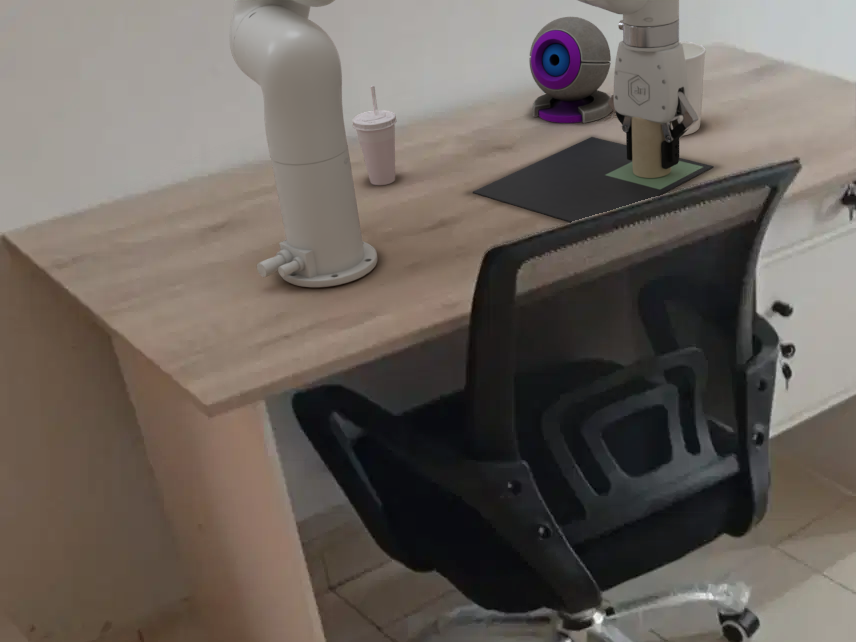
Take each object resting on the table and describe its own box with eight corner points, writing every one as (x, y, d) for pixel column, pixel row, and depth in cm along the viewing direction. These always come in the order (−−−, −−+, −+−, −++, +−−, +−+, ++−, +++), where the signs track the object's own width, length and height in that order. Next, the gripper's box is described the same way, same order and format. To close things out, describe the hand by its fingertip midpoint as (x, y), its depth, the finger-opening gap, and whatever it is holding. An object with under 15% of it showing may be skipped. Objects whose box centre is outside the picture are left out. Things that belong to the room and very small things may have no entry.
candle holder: (703, 138, 188) (703, 59, 182) (638, 139, 190) (636, 60, 184) (707, 116, 196) (707, 40, 190) (644, 117, 198) (643, 41, 192)
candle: (677, 167, 179) (677, 98, 173) (661, 180, 175) (660, 111, 169) (642, 162, 181) (642, 94, 176) (626, 175, 177) (624, 106, 172)
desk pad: (594, 229, 163) (594, 228, 163) (472, 192, 177) (472, 191, 177) (713, 167, 178) (713, 165, 178) (591, 137, 192) (591, 136, 192)
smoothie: (413, 177, 184) (401, 84, 177) (381, 191, 181) (367, 97, 173) (384, 169, 188) (371, 77, 181) (352, 183, 185) (337, 90, 177)
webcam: (518, 119, 202) (511, 25, 194) (557, 95, 211) (552, 4, 203) (589, 128, 196) (585, 31, 188) (626, 102, 205) (623, 9, 197)
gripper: (584, 32, 171) (590, 158, 181) (685, 49, 160) (685, 182, 170) (619, 18, 175) (623, 142, 185) (720, 34, 165) (717, 165, 174)
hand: (652, 160), depth 177 cm, fingers closed on candle, 5 cm apart
